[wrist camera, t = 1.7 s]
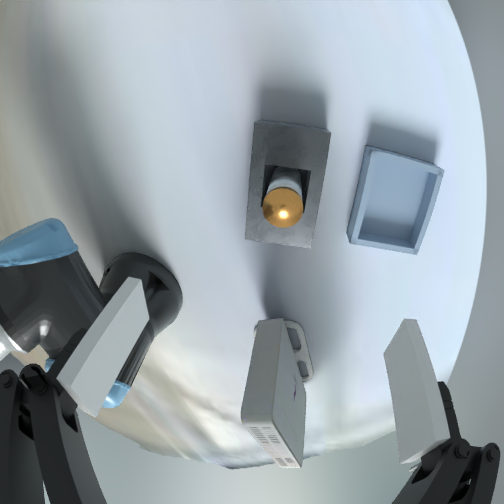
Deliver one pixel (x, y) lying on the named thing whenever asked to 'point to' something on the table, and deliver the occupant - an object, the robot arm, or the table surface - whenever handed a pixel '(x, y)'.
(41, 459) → the robot arm
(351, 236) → the tray
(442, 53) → the table surface
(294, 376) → the network device
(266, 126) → the grey socket block
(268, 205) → the steel pin
